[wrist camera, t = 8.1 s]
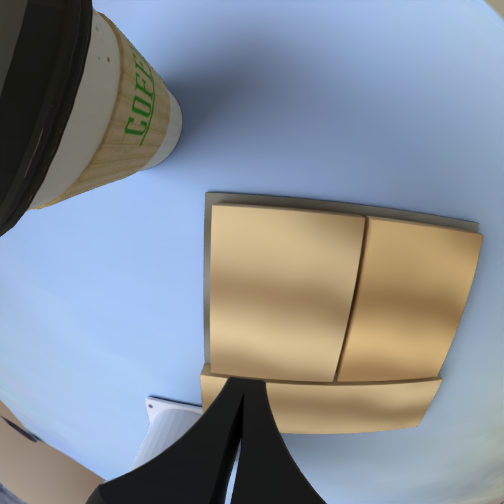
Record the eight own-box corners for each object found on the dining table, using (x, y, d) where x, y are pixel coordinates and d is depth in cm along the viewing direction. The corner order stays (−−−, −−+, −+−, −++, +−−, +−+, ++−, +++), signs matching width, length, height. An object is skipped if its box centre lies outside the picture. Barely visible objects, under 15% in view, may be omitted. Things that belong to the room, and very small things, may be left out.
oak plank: (430, 366, 20) (436, 376, 19) (335, 369, 21) (337, 381, 20) (472, 230, 17) (483, 235, 15) (366, 215, 17) (372, 219, 16)
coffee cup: (231, 78, 16) (128, -87, 2) (180, 216, 19) (-4, 317, 5) (113, 55, 16) (-38, -14, 2) (72, 174, 19) (-98, 205, 5)
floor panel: (412, 413, 22) (417, 426, 21) (207, 409, 24) (203, 424, 22) (475, 222, 17) (489, 227, 15) (206, 192, 19) (199, 194, 17)
